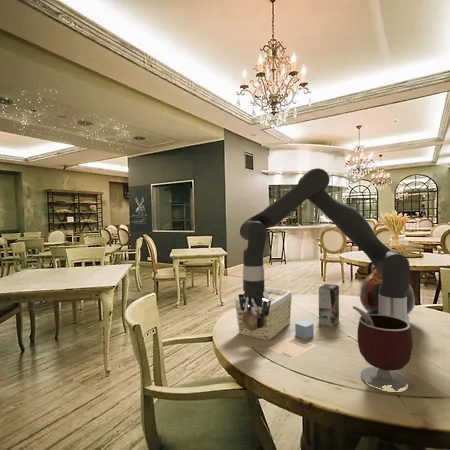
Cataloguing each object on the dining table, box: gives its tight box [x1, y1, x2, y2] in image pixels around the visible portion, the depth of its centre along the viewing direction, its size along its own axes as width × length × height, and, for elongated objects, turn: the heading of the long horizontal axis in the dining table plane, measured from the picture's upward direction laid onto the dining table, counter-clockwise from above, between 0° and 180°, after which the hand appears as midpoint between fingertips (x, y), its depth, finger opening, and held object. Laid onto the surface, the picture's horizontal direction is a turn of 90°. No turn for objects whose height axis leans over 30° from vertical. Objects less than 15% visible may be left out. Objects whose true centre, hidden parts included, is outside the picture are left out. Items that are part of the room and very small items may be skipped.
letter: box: [266, 336, 317, 360], centre depth 108 cm, size 11×15×1 cm
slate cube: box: [294, 320, 315, 340], centre depth 118 cm, size 5×5×5 cm
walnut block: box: [242, 309, 266, 331], centre depth 105 cm, size 5×7×5 cm
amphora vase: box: [359, 261, 416, 316], centre depth 132 cm, size 22×22×28 cm
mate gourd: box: [352, 305, 413, 391], centre depth 86 cm, size 16×14×20 cm
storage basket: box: [234, 286, 293, 341], centre depth 126 cm, size 24×16×15 cm
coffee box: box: [318, 283, 340, 327], centre depth 131 cm, size 9×6×16 cm
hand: (254, 325), depth 105 cm, fingers closed on walnut block, 5 cm apart
